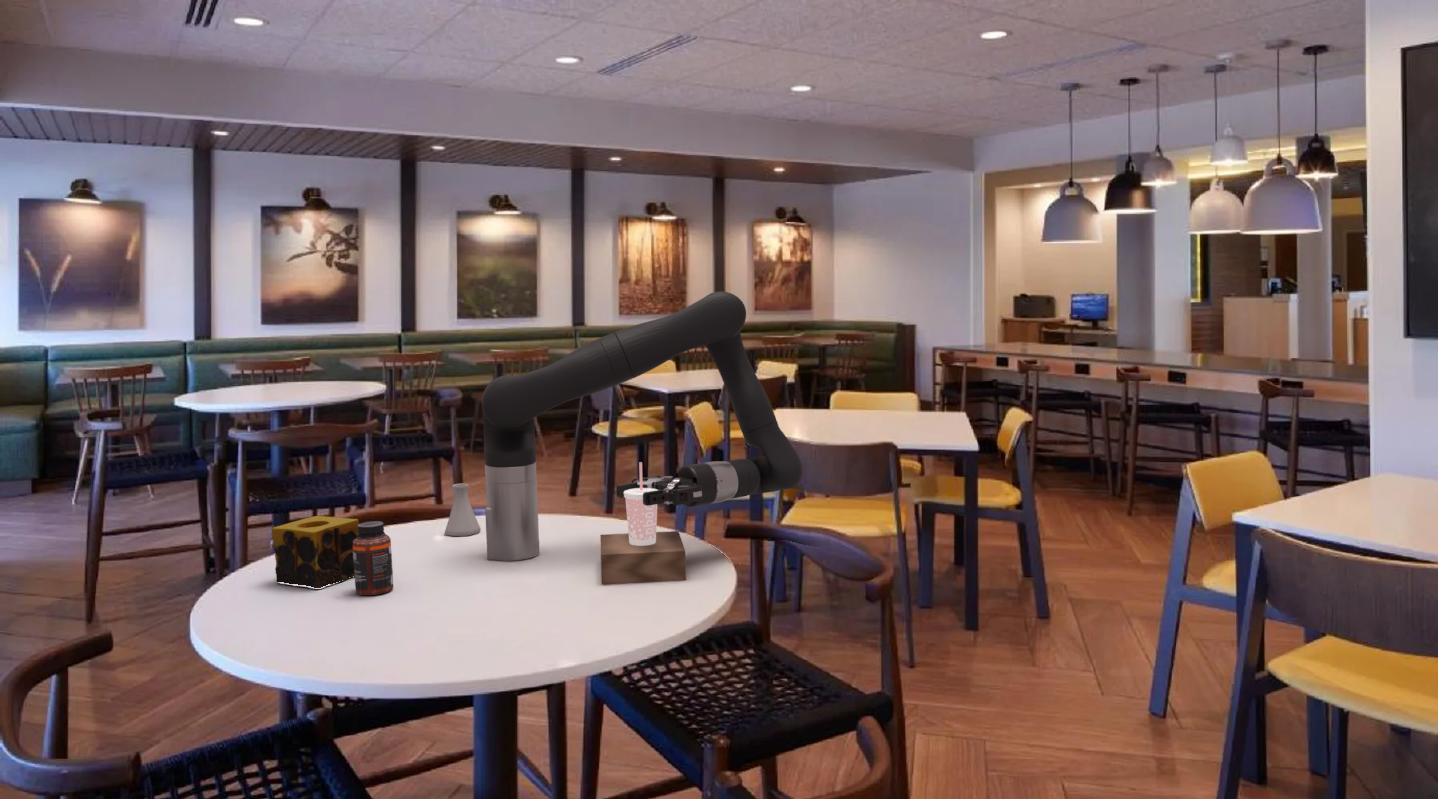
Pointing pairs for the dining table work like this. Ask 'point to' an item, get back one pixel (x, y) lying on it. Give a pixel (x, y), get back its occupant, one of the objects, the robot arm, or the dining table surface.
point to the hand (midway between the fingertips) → (630, 495)
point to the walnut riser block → (642, 559)
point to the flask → (461, 514)
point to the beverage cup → (640, 516)
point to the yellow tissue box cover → (315, 550)
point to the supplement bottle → (372, 559)
